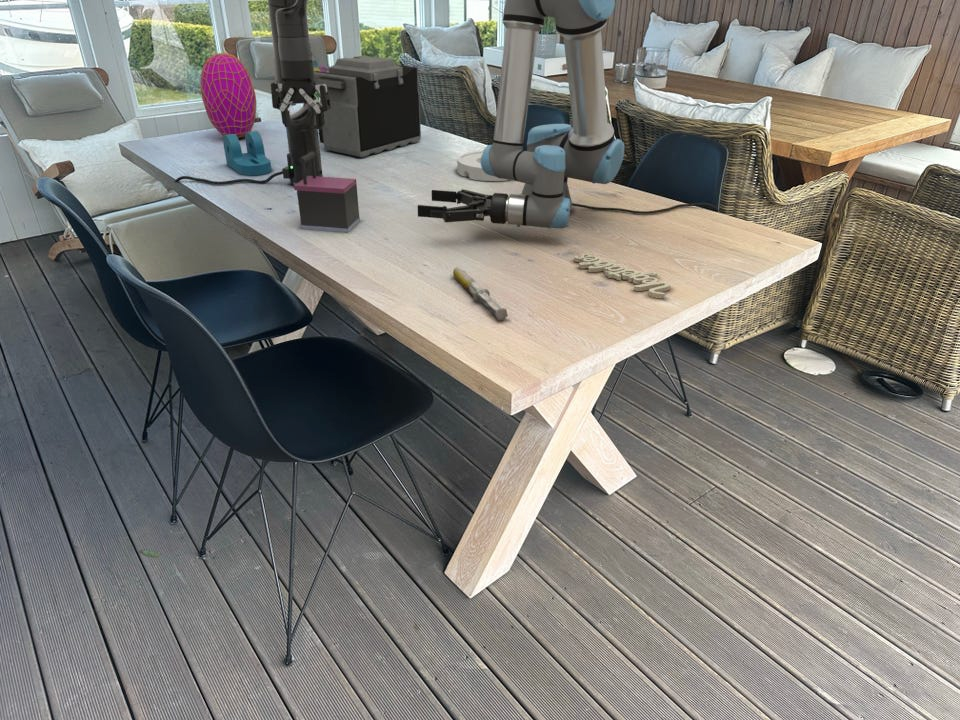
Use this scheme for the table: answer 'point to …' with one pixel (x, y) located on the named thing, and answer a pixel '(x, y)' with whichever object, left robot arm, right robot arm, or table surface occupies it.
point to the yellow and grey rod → (479, 293)
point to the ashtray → (474, 167)
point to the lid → (321, 180)
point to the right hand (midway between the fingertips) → (425, 202)
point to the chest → (329, 210)
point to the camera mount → (246, 154)
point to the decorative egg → (228, 95)
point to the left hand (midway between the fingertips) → (304, 127)
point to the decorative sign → (625, 274)
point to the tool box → (370, 106)
